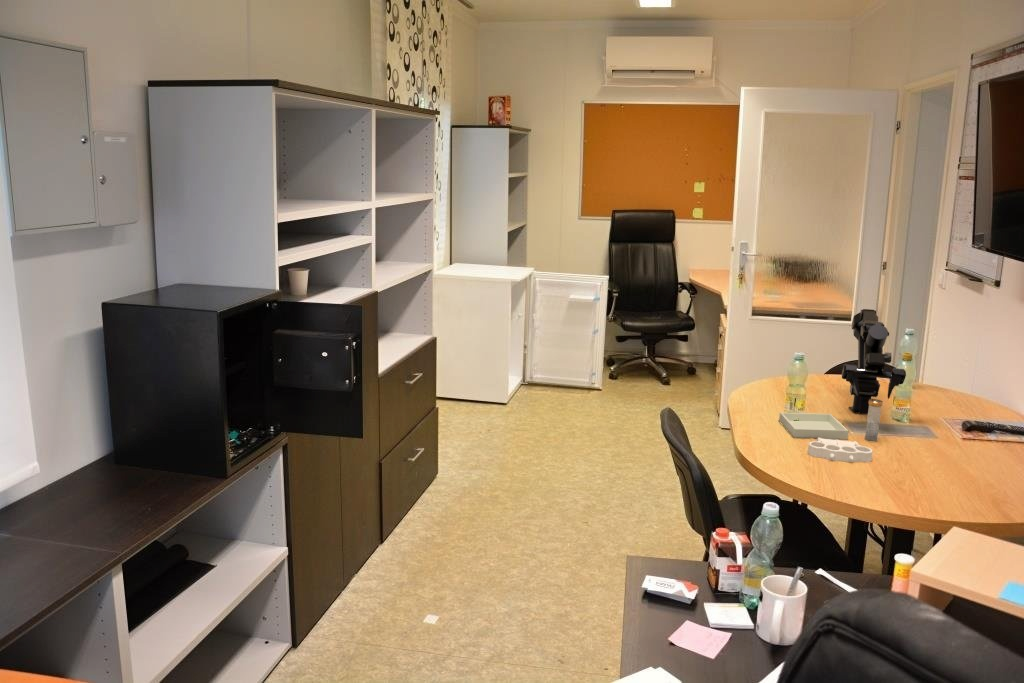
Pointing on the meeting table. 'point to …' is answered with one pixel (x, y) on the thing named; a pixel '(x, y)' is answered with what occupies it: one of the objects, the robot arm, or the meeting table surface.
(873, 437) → the grey cylinder
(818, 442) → the white brass knuckles
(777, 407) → the meeting table surface
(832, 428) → the tray
